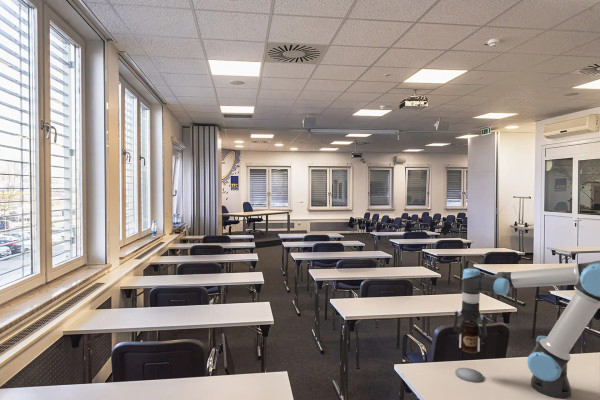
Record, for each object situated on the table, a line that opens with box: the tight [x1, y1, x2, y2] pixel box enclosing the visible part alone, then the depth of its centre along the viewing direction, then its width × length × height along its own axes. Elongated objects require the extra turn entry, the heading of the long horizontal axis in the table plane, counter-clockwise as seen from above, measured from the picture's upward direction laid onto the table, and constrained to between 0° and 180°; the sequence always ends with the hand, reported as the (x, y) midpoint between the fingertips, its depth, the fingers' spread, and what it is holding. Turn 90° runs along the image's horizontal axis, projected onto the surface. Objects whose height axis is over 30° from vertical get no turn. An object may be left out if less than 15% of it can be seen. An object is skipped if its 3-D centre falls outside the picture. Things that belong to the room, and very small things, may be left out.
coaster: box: [454, 367, 484, 383], centre depth 176 cm, size 12×12×1 cm
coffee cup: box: [460, 321, 479, 354], centre depth 176 cm, size 9×8×13 cm
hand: (469, 348), depth 176 cm, fingers closed on coffee cup, 7 cm apart
